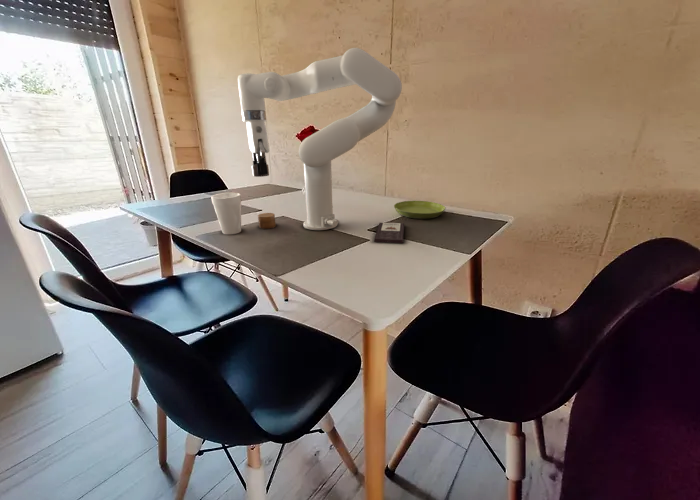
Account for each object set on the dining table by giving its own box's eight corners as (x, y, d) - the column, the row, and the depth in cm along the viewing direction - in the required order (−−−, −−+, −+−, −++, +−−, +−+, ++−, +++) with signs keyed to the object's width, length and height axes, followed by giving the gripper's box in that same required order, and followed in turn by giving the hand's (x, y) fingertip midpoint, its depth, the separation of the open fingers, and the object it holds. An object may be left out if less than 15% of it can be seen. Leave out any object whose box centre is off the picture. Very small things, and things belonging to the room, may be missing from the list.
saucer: (392, 220, 121) (392, 211, 120) (394, 207, 140) (394, 200, 139) (447, 221, 118) (448, 213, 117) (441, 208, 137) (442, 201, 136)
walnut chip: (272, 175, 109) (271, 164, 108) (258, 177, 106) (256, 166, 104) (263, 173, 113) (262, 163, 112) (249, 175, 109) (248, 165, 108)
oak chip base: (278, 226, 116) (278, 220, 115) (264, 229, 112) (263, 224, 111) (270, 223, 120) (269, 217, 119) (256, 226, 116) (255, 220, 115)
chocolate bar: (374, 239, 98) (379, 222, 115) (374, 241, 99) (379, 224, 115) (403, 240, 97) (404, 223, 113) (402, 243, 97) (404, 225, 114)
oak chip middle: (278, 220, 115) (277, 214, 115) (263, 224, 111) (263, 218, 111) (269, 217, 119) (268, 211, 118) (255, 220, 115) (254, 215, 115)
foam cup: (218, 237, 105) (211, 199, 100) (217, 229, 113) (210, 194, 108) (247, 233, 109) (241, 196, 104) (244, 226, 117) (239, 191, 112)
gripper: (272, 116, 97) (277, 175, 103) (260, 117, 111) (265, 169, 118) (247, 116, 93) (254, 177, 100) (238, 117, 108) (245, 171, 114)
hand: (260, 172), depth 109 cm, fingers closed on walnut chip, 5 cm apart
